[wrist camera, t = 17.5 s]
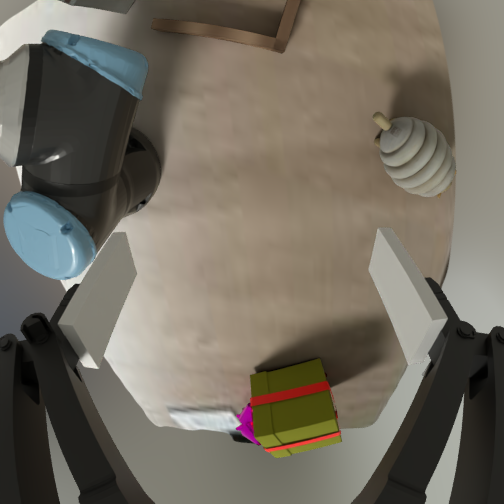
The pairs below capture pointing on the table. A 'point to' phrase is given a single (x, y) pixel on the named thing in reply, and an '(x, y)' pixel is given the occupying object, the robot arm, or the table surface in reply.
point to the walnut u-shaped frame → (236, 30)
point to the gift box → (291, 410)
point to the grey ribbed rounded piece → (415, 155)
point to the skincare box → (103, 4)
